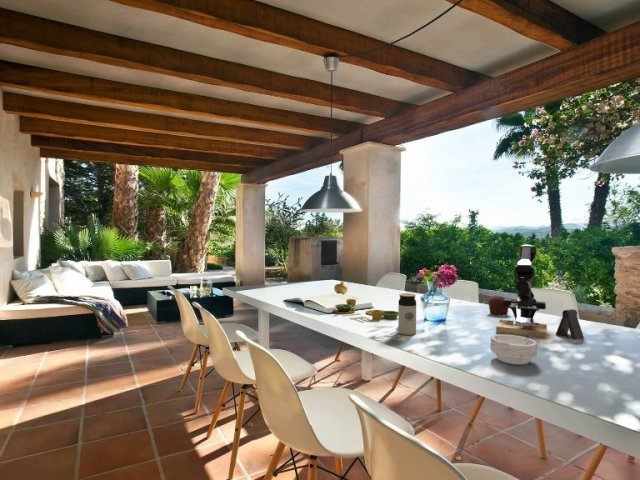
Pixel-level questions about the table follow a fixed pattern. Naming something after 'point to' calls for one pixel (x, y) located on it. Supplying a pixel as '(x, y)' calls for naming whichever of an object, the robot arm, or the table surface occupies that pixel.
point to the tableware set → (375, 313)
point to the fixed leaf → (522, 329)
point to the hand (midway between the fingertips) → (523, 321)
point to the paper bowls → (513, 349)
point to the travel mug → (407, 314)
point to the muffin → (497, 306)
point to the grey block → (523, 321)
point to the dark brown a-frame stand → (570, 325)
